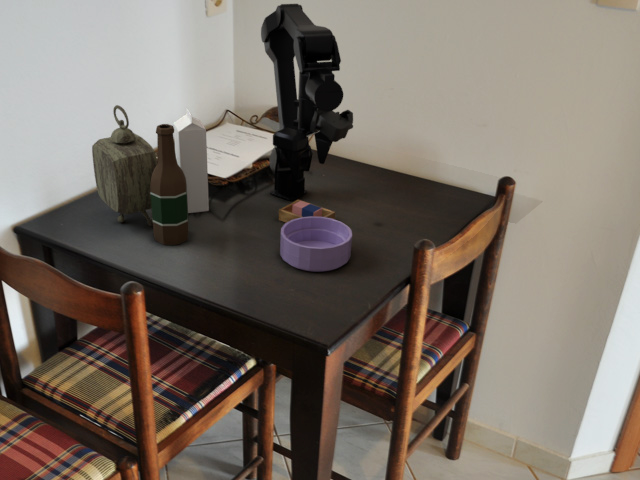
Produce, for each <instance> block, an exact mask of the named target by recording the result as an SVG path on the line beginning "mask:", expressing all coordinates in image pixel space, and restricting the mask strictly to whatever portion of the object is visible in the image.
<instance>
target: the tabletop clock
mask: <svg viewBox="0 0 640 480" xmlns="http://www.w3.org/2000/svg"><path fill="white" fill-rule="evenodd" d="M117 110H119V111H120V112H121V113H122V114H123V116H124V118H125V120H123V119H119V118H118V117H117ZM112 112H113V117H114V120H115V123H116V124H117V126H119V127H117V128H116V129H114V130H113V131H111V134H110V137H104V138H100V139H98V140H96V142H94V143H93V144H92V145H91V153H92V154H91V155H92V163H93V164H92V165H93V172H94V179H95V185H96V190H97V195H98V196H99V198H100V199H101V200H102V201H103V202H104V203H105V204H106V205H107V206H108V207H109V208H110V209H111V210H113V211H114V212H115V213H119V215H118V216H117V222H118V223H124V222H125V219H126V218H125V215H130V214H131V215H132V214H136V213H141V214H142V216H144V218H146V220H147V225H148V226H149V227H153V219H152V218H150V216H149V214H148V213H147V210H152V206H151V193H150V183H151V178H152V174H153V171H154V169H155V167H156V166H157V161H158V157H157V155H156V151H155V149H154V148H153V146H152V145H151V144H150V143H149V142H148V141H147V140H146V139H144V137H142V136H141V135H139V134H136V133H135V132H134V131H133V130H131V128H129V125H130V122H129V117H128V113H127V112H126V110H125V109H124V107H122V106H120V105H118V104H115V106H114V107H113V111H112ZM125 121H126V124H125Z"/></svg>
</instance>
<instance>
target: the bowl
mask: <svg viewBox="0 0 640 480" xmlns="http://www.w3.org/2000/svg"><path fill="white" fill-rule="evenodd" d="M352 241H353V231H352V228H351V227H350V226H348V224H345V223H344V222H342V221H340V220H337V219H336V218H335V219H332V218H326V217H315V216H310V217H301V218H297V219H293V220H291V221H289V222H287V223H286V222H284V224H283V225H282V227H281V228H280V244H279V245H280V247H279V255H280V257H281V258H282V261H284V262H285V263H287V264H288V265H290V266H291V267H293V268H296V269H298V270H301V271H306V272H318V273H320V272H329V271H333V270H336V269H339V268H341V267H343V266H344V265H346V264H347V263H348V262H349V261H350V259H351V257H352V256H351V255H352Z"/></svg>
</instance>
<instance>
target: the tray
mask: <svg viewBox="0 0 640 480" xmlns="http://www.w3.org/2000/svg"><path fill="white" fill-rule="evenodd" d="M299 201H303V202H306V203H309V204H312V205H315V206H318V207H321V208H322V217H326V218H332V219H335V220H336V211H334V210H330V209H328V208H325V207H323V206H319V205H316V204H313V203H311V202H307V201H304V200H302V199H295V200H294V201H292V202H291V203H288V204H287V205H285V206H283V207H281V208H279V209H278V221H281V222H284V223H287V222H289V221H291V220H293V219H297V218H301V217H302V216H299V215H296V214H294V213H292V205H293V204H295V203H297V202H299Z"/></svg>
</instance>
